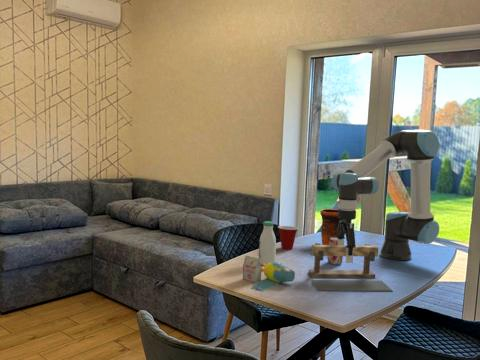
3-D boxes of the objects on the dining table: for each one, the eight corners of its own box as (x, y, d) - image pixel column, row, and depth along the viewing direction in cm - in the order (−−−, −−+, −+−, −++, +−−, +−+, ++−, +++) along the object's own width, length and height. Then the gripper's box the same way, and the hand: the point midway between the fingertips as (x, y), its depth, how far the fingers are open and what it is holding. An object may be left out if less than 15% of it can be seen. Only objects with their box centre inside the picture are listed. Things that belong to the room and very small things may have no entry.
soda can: (342, 265, 210) (343, 240, 209) (327, 264, 211) (328, 239, 210) (342, 261, 217) (343, 237, 216) (327, 260, 218) (328, 236, 217)
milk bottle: (278, 263, 211) (280, 222, 209) (268, 267, 205) (269, 224, 203) (265, 260, 216) (267, 219, 214) (255, 263, 210) (256, 221, 208)
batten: (375, 254, 193) (376, 245, 193) (378, 256, 190) (378, 247, 190) (311, 253, 192) (312, 244, 192) (313, 255, 189) (313, 246, 189)
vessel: (312, 243, 251) (315, 208, 249) (334, 242, 257) (336, 208, 255) (327, 250, 238) (330, 213, 236) (349, 248, 243) (352, 212, 242)
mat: (381, 281, 189) (381, 280, 188) (392, 291, 177) (392, 290, 177) (311, 281, 187) (311, 279, 187) (317, 291, 175) (317, 289, 175)
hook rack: (370, 273, 199) (372, 242, 198) (378, 280, 190) (380, 248, 188) (308, 272, 198) (309, 242, 196) (313, 280, 188) (314, 247, 187)
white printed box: (248, 277, 190) (248, 254, 189) (260, 280, 186) (261, 257, 184) (242, 279, 187) (243, 256, 186) (255, 283, 183) (256, 259, 182)
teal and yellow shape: (276, 252, 200) (307, 258, 192) (275, 270, 201) (306, 278, 193) (243, 266, 177) (277, 275, 169) (242, 287, 178) (276, 297, 170)
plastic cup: (300, 248, 241) (301, 226, 239) (291, 252, 232) (292, 229, 230) (282, 245, 246) (283, 223, 245) (273, 249, 237) (274, 226, 236)
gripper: (330, 204, 201) (328, 250, 203) (346, 214, 177) (344, 266, 179) (347, 204, 202) (344, 250, 204) (365, 214, 177) (362, 266, 179)
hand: (344, 258), depth 191 cm, fingers open, 13 cm apart
